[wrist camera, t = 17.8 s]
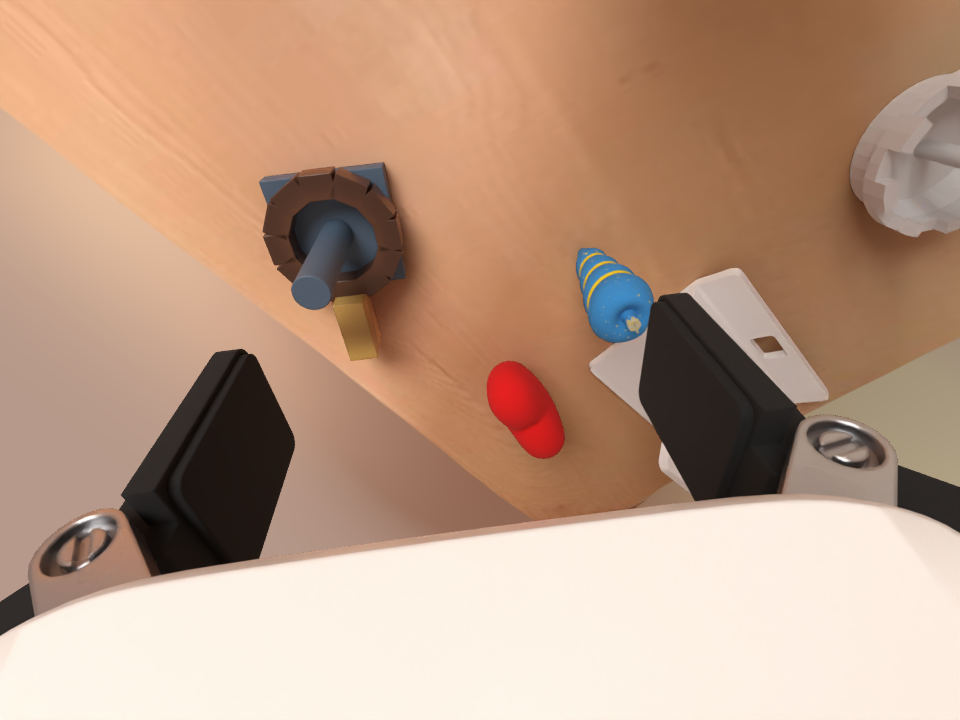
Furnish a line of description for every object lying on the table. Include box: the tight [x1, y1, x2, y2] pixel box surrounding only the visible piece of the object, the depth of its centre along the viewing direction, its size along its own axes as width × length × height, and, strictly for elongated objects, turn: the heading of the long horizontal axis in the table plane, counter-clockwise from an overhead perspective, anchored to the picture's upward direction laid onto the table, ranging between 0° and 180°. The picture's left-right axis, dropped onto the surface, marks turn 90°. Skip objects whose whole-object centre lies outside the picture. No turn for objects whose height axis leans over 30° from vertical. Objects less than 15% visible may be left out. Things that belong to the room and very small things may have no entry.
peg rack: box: [259, 162, 406, 310], centre depth 36 cm, size 10×10×12 cm
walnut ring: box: [263, 167, 403, 361], centre depth 40 cm, size 16×11×4 cm, turn 6°
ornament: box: [576, 248, 654, 343], centre depth 38 cm, size 5×5×15 cm
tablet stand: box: [589, 268, 829, 494], centre depth 48 cm, size 18×25×17 cm
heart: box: [487, 361, 565, 459], centre depth 49 cm, size 12×5×10 cm, turn 32°
